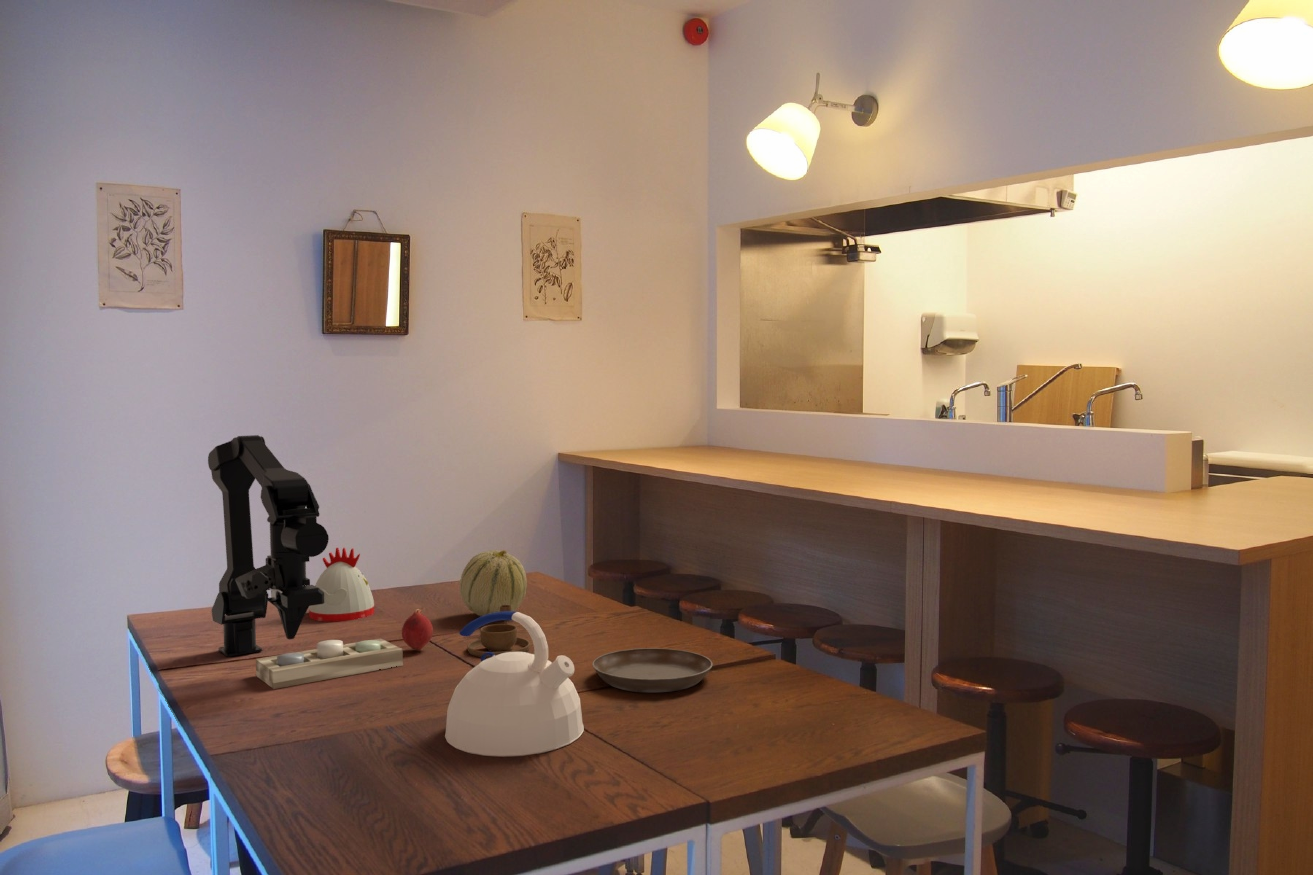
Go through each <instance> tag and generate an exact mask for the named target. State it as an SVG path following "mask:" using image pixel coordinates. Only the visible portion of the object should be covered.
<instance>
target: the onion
mask: <svg viewBox="0 0 1313 875" xmlns="http://www.w3.org/2000/svg"><path fill="white" fill-rule="evenodd" d="M433 628H434V627H433V623H432V622H431V621H430V620H429V618H428V617H427V616H425V615H424V614H422V610H421V609H419V608H417V609H415V610H414V612H413V613H412V614H411V615H410V616H409V617H408V618H407V619H406V620H405V621H404V623H403V625H402V627H401V637H402V639H403V641H404V643H405V644H407V646H408V647H410V648H411V649H413V650H415V651H416V652H419V651H421V650H422V649H423V648H424V647H425V646H427V644H429V642H430V641H431V640H432V638H433V633H434V629H433Z"/></svg>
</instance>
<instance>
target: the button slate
mask: <svg viewBox="0 0 1313 875" xmlns="http://www.w3.org/2000/svg"><path fill="white" fill-rule="evenodd" d="M278 655H279V656H277V655H276V656H277V665H278V666H279V667H281V666H287V665H293V664H299V663H304V654H302V653H295V652H287V653H281V654H278Z"/></svg>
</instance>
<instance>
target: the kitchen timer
mask: <svg viewBox="0 0 1313 875" xmlns="http://www.w3.org/2000/svg"><path fill="white" fill-rule="evenodd" d="M328 556H329V561H330V562H329V561H328V560H327V559H326V557H322V561H323V563H324V565H325V567H326V568H325V569H324V570H323V571H322V573H321V574H320V576H319V577H318V579H317V581H316V583H315V584H314V586H316V587H318V588H320V589H321V590H322V591H323V592H324V604H319V605H312V606H309V608H308V610H309V611H308V613H309V615H308V616H309V617H308V618H310V619H311V620H313V619H314V621H318V622H319V621H320V622H345V621H346V622H347V621H353V620H354V619H355V620H359V619H358V618H361V619H364V617H365V618H368V617H370V616H369V615H371V616H373V615H374V614H375V600H374V597H373V593H372V590H371V588H370V585H369V582H368V581H367V578H366V577H365V575H364V574H363V572H361V570H360V569H359V568H358V567H357V564H358V561H359V560H360V559H359V558H360V556H361V553H358V554H357V555H356V557H355V550H354V548H351V549H350V551H349V555H348V554H347V549H346V548H345V547H343V548H342V552H340V549H339V547H336V548H335V552H334V554H333V553H332V552H331V551H330V552H329V553H328ZM373 613H374V614H373ZM367 616H368V617H367ZM355 620H354V621H355Z"/></svg>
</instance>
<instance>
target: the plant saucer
mask: <svg viewBox="0 0 1313 875" xmlns="http://www.w3.org/2000/svg"><path fill="white" fill-rule="evenodd" d="M592 667H593V669H594V671H595V672H596V674H597V676H599V677H600V678H601V680H603V681H604V683H606V684H608V685H609V686H611V687H613V688H615V689H618V690H622V691H627V692H633V693H643V694H644V693H645V694H650V693H651V694H656V693H657V694H659V693H670V692H671V693H672V692H677V691H683V690H686V689H689V688H692V687H695V686H696V685H697V684H699V683H700V682H701V681H702V680H703V679H704V678H705V677H706V676H707V675H708V674H709V672H710V671H711V669H712V667H713V662H712V660H711V659H710V658H708V657H707V656H705V655H702V654H700V653H696V652H692V651H688V650H684V649H683V650H682V649H681V650H680V649H673V648H661V647H659V648H657V647H654V648H653V647H647V648H631V649H624V650H623V649H622V650H616V651H613V652H608V653H604V654H602V655H599V656H597V658H595V659H594V660H593V661H592Z"/></svg>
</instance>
